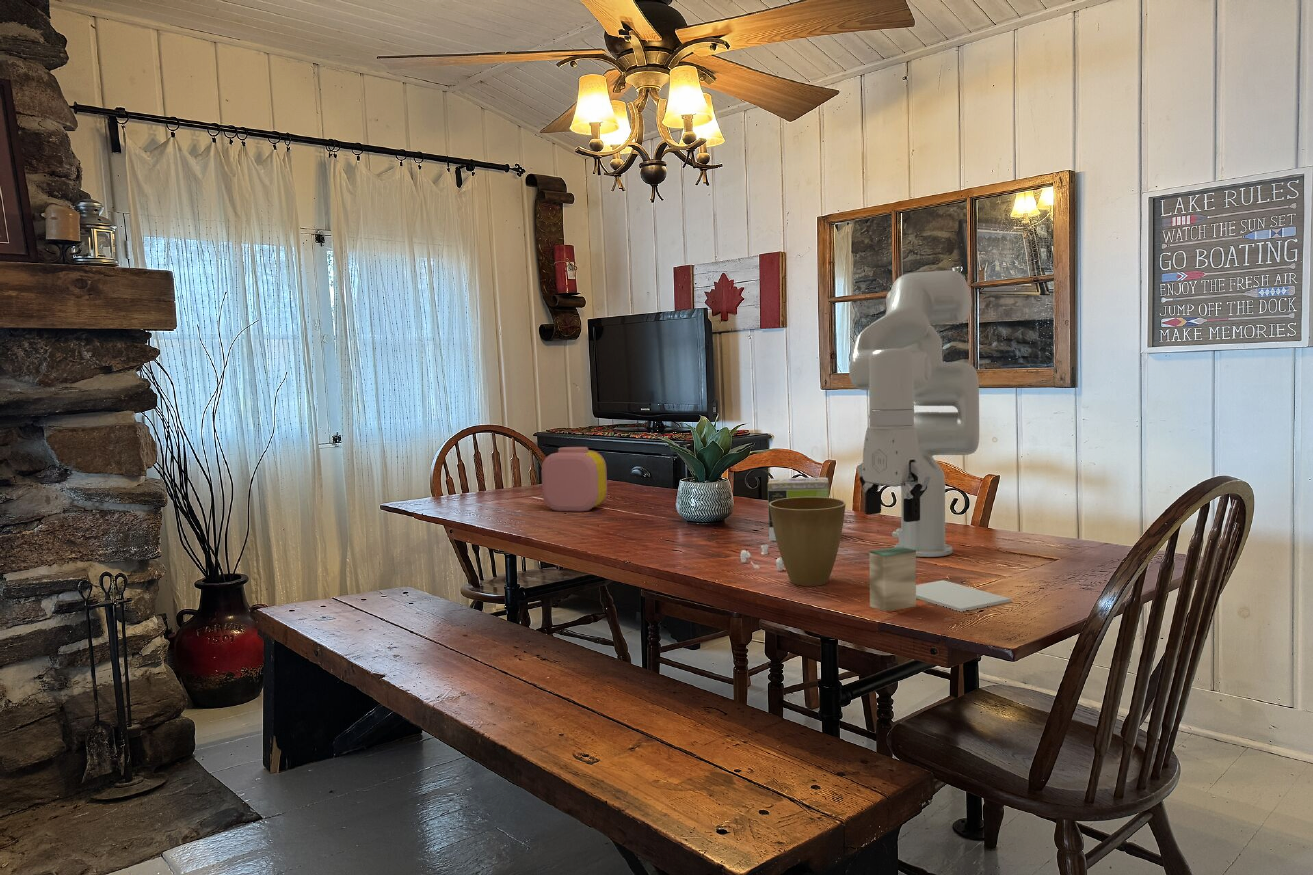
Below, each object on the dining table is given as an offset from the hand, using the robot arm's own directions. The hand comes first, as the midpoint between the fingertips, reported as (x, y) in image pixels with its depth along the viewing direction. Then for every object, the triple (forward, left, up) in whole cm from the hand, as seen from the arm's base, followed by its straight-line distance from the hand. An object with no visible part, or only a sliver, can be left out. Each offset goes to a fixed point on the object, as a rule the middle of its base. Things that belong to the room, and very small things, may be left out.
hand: (892, 517), depth 152 cm
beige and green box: (0, 0, -16) cm, 16 cm away
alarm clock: (-135, -7, -16) cm, 136 cm away
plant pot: (-22, -2, -16) cm, 28 cm away
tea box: (-59, +23, -16) cm, 66 cm away
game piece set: (-40, +5, -17) cm, 44 cm away
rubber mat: (+1, +13, -16) cm, 21 cm away
